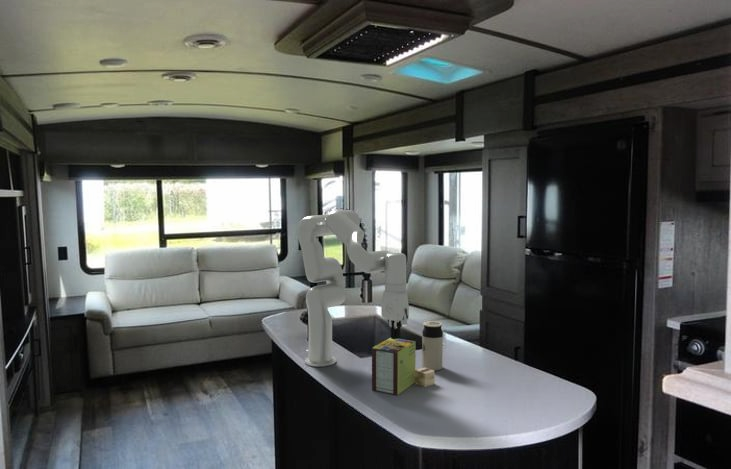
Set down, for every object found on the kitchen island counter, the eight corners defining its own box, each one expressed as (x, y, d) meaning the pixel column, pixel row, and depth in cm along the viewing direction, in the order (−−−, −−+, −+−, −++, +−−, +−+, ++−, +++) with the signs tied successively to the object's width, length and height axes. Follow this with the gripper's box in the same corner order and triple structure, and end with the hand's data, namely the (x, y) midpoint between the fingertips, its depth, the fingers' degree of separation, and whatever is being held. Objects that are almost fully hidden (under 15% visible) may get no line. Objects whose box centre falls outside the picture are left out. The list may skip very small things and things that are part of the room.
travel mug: (441, 365, 221) (442, 321, 220) (442, 371, 213) (443, 326, 212) (421, 364, 222) (422, 320, 221) (422, 370, 214) (422, 325, 213)
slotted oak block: (414, 383, 201) (415, 369, 200) (424, 380, 204) (424, 366, 204) (424, 387, 197) (425, 373, 197) (434, 384, 200) (434, 370, 200)
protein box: (415, 382, 202) (416, 340, 201) (397, 395, 189) (397, 351, 187) (390, 377, 207) (390, 336, 206) (370, 390, 194) (371, 347, 192)
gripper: (373, 286, 198) (373, 336, 200) (402, 292, 187) (402, 344, 188) (389, 283, 203) (389, 332, 204) (418, 289, 191) (417, 340, 193)
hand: (395, 338), depth 196 cm, fingers closed
